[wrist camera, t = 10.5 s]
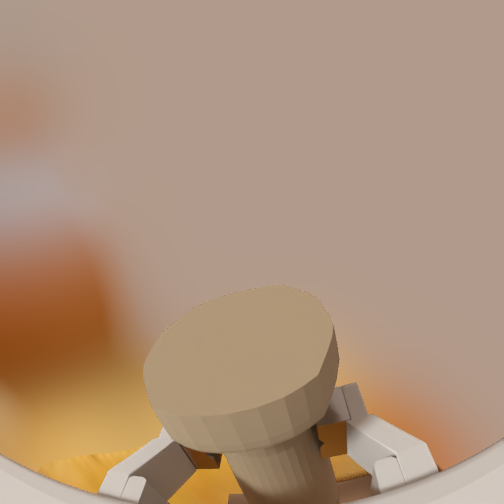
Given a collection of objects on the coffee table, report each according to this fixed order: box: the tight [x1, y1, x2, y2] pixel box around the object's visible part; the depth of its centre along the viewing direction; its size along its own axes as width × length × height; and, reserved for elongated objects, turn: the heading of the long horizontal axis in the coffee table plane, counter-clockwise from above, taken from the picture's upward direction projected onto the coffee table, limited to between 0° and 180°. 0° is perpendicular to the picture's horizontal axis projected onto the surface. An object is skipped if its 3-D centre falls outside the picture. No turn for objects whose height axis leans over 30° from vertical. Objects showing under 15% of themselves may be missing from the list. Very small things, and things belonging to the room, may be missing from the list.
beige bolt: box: [143, 285, 340, 504], centre depth 9 cm, size 5×6×15 cm
